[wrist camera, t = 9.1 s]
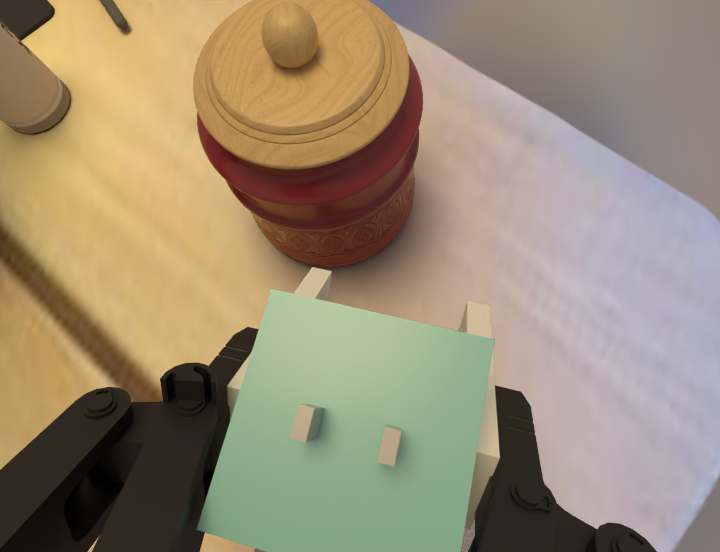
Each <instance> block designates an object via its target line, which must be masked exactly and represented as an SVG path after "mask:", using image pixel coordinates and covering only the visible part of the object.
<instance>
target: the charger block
mask: <svg viewBox="0 0 720 552" xmlns="http://www.w3.org/2000/svg"><path fill="white" fill-rule="evenodd" d="M494 341H495V339H491V338H487V337H482V336H478V335H473V334H469V333H465V332H460V331H456V330H451V329H447V328H443V327H438V326H434V325H429V324H425V323H421V322H416V321H412V320H407V319H403V318H399V317H394V316H390V315H385V314H381V313H376V312H372V311H368V310H363V309H359V308H354V307H350V306H346V305H341V304H337V303H332V302H328V301H324V300H319V299H315V298H310V297H306V296H302V295H297V294H293V293H288V292H284V291H280V290H275V289H271V292H270V295H269V298H268V301H267V305H266V308H265V311H264V314H263V317H262V321H261V324H260V327H259V330H258V334H257V337H256V340H255V343H254V346H253V350H252V353H251V356H250V359H249V362H248V366H247V369H246V372H245V375H244V379H243V382H242V385H241V388H240V391H239V395H238V398H237V401H236V404H235V407H234V411H233V414H232V417H231V420H230V423H229V427H228V430H227V433H226V436H225V440H224V443H223V446H222V449H221V452H220V456H219V459H218V462H217V465H216V468H215V472H214V475H213V478H212V481H211V485H210V488H209V491H208V494H207V497H206V501H205V504H204V507H203V510H202V513H201V517H200V520H199V523H198V526H197V530H200V531H203V532H206V533H209V534H212V535H215V536H219V537H222V538H225V539H228V540H231V541H235V542H238V543H241V544H244V545H247V546H250V547H254V548H257V549H260V550H263V551H266V552H461V547H462V541H463V534H464V528H465V522H466V516H467V510H468V503H469V497H470V491H471V485H472V478H473V472H474V466H475V460H476V454H477V447H478V441H479V435H480V429H481V422H482V416H483V410H484V404H485V398H486V391H487V385H488V379H489V373H490V366H491V360H492V354H493V348H494Z"/></svg>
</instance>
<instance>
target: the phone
mask: <svg viewBox="0 0 720 552" xmlns="http://www.w3.org/2000/svg"><path fill="white" fill-rule="evenodd" d="M54 13H55V10H54V8H53V6H52V5H51V4H50V3H49V2H48V1H47V0H0V21H1V22H2V23H3V24H4V25H5V26H6V27H7V28H8V29H9V30H10V31H11V32H12V33H13V34H14V35H15V36H16V37H17V38H18V39H19V40H20V41H21V40H23V39H24V38H25V37H27V36H28V35H29V34H31V33H32V32H34V31H35V30H36V29H38V28H39V27H40V26H42V25H43V24H45V23H46V22H47V21H49V20H50V19H51V18H52V17H53V15H54Z"/></svg>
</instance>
